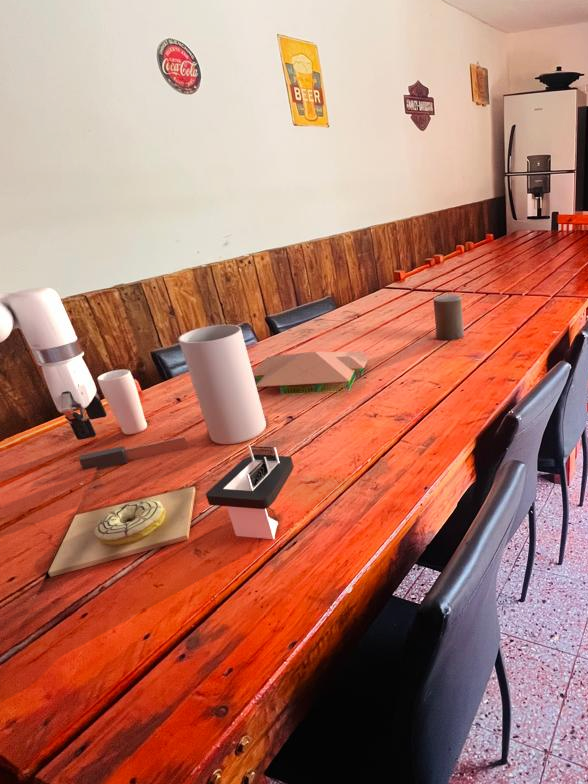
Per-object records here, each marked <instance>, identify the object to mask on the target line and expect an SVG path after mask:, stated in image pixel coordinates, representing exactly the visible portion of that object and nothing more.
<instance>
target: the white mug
mask: <svg viewBox="0 0 588 784" xmlns="http://www.w3.org/2000/svg"><path fill="white" fill-rule="evenodd" d="M96 379H97V382H98V385H99V388H100V390H101V393H102V395H103V397H104V399H105V401H106V403H107V405H108V407H109V408H110V410H111V412H112V414H113V416H114V417H115V419H116V421H117V423H118V425H119V427H120V430H121V432H122V433H123V434H124V435H127V436H128V435H136V434H139V433H141V432H143V431H145V430H146V429H147V428H148V423H147V420H146V417H145V414H144V410H143V405H142V403H141V398H140V394H139V391H138V388H137V385H136V382H135V378H134V377H133V375H132V373H131V370H129V369H115V370H111V371H108V372H105V373H102V374H100V375H99V376H98V377H97V378H96Z"/></svg>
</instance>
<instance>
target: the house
mask: <svg viewBox="0 0 588 784" xmlns="http://www.w3.org/2000/svg"><path fill="white" fill-rule="evenodd" d="M364 352H365V351H309V352H300V353H292V354H291V353H288V354H277V355H272V356H267V357H266V358H265V359H264V360H263V361H262V362H261V363H260V364H259V365H258V366H257V367H256V369H254V370H253V371H252V372H253V376H254V380H255V383H256V387H257V388H261V387H262V388H264V387H279V391H280V394H281V396H282V395H283V396H284V395H286V396H287V395H299V394H300V395H301V394H304V392H306V391H307V392H309V391H310V392H314V394H319V393H321V392H322V393H334V392H335V393H336V392H338V390H337V391H336V390H334V391H333V390H331V391H330V390H328V391H327V389H322V388H327V387H328V388H329V387H331V389H333V387H334V389H336V388H337V389H339V388H338V387H340V389H342V388H343V390H345V389H347V392H349V391H350V389H351V387H352V386H353V383H354V381H355V379H356V377H362V376H363V374H364V372H365V369H366V365H367V363H368V361H369V358H370V355H364V354H365V353H364ZM356 372H360V375H359V374H357V375H356ZM332 383H333V384H335V383H336V384H337V385H330V386H329V385H326V384H332ZM338 383H339V385H338ZM341 383H342V385H341ZM344 383H346V385H344ZM296 385H297V387H299V385H300V387H302V385H303V388H294V387H296ZM304 385H306V386H304ZM310 385H311V386H310ZM290 386H291V387H290ZM293 386H294V387H293ZM346 386H347V387H346ZM341 387H342V388H341ZM344 387H345V388H344ZM308 388H309V390H308ZM311 388H313V389H312V391H311ZM288 389H289V390H288ZM293 389H295V391H297V390H298V391H300V392H298V393H297V392H295V393H294V392H292V393H291V392H289V393H288V391H291V390H292V391H294V390H293ZM305 389H306V390H305ZM321 389H322V390H321ZM303 390H304V392H303ZM285 391H286V393H285Z"/></svg>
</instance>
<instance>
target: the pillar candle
mask: <svg viewBox="0 0 588 784" xmlns="http://www.w3.org/2000/svg"><path fill="white" fill-rule="evenodd" d="M432 300H433V309H434V323H435V334H436V338H437V339H438V340H441V341H456V340H459V339H462V338H463V337H464V336H465V330H464V316H463V302H462V296H461V295H460V294H447V293H446V294H441V295H437V296H434V297H433V299H432Z"/></svg>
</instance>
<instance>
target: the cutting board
mask: <svg viewBox="0 0 588 784" xmlns="http://www.w3.org/2000/svg"><path fill="white" fill-rule="evenodd" d="M195 496H196V487H195V486H190V487H186V488H182V489H181V488H180V489H178V490H174V491H169V492H165V493H162V494H157V495H153V496H149V497H145V498H141V499H135V500H132V501H129V502H124V503H120V504H115V505H112V506H108V507H103V508H99V509H95V510H92V511H91V510H90V511H87V512H83V513H78V514H75V515H74V517H73V519H72V521H71V524H70V525H69V528H68V530H67V532H66V534H65V536H64V538H63V540H62V543H61V545H60V547H59V548H58V551H57V552H56V555H55V557H54V559H53V561H52V563H51V565H50V567H49V569H48V572H47V574H48V575H49V577H50V578H52V577H55V576H60V575H63V574H67V573H70V572H71V573H72V572H75V571H78V570H82V569H85V568H89V567H92V566H96V565H100V564H103V563H108V562H111V561H114V560H118V559H122V558H125V557H129V556H132V555H137V554H140V553H144V552H147V551H151V550H155V549H159V548H162V547H165V546H166V547H167V546H169V545H170V546H171V545H174V544H177V543H181V542H184V541H188V540H189V539H190V538H189V537H190V530H191V524H192V517H193V511H194V505H195ZM145 500H153V501H160V503H161V504H162V506H163V507H164V508H165V513H166V514H165V519H164V522H163V523H162V525H161V526H160V527H159V528H158V529H157V530H155V531H154V532H153V533H151V534H150V535H149V536H147V537H145V538H143V539H141V540H139V541H137V542H134V543H131V544H127V545H122V546H109V545H105V544H103V543H102V542H100V541H99V540H98V539H97V537H96V535H95V534H94V532H95V528H96V525H97V523H98V521H99V520H100V519H101V518H102V517H104V516H105V515H107V514H108V513H109V512H111V511H113V510H115V509H117V508H119V507H122V506H124V505H126V504H129V503H133V502H138V501H145Z"/></svg>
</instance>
